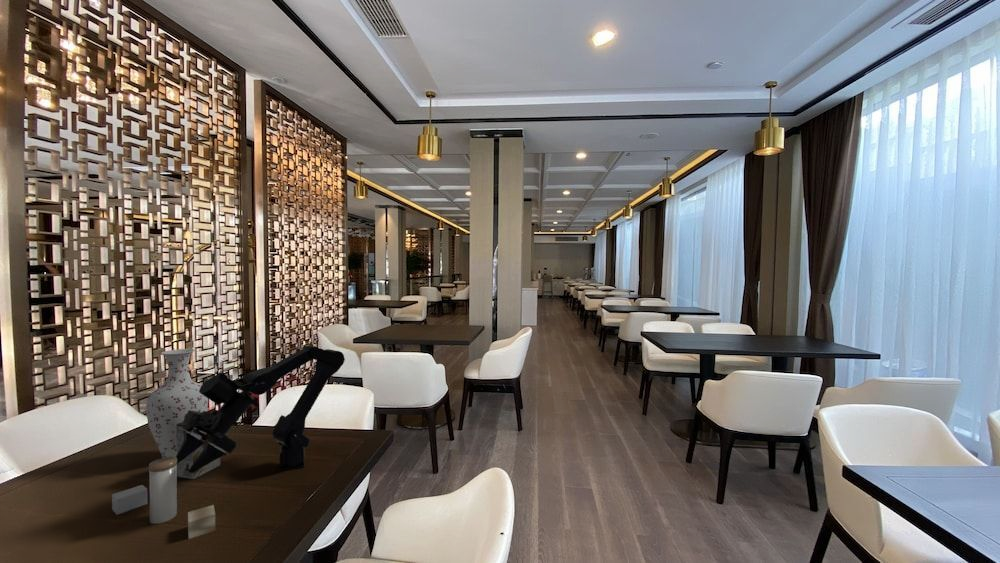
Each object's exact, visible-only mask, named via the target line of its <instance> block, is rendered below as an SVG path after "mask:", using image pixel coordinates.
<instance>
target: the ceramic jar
mask: <svg viewBox="0 0 1000 563" xmlns="http://www.w3.org/2000/svg"><path fill="white" fill-rule="evenodd" d="M148 471H149V473H148V474H149V524H150V523H151V524H153V525H155V524H156V525H158V524H162V523H167V522H168V521H170V520H172V519H174V518H175V517H177V515H178V494H177V491H178V490H177V489H178V483H177V481H178V476H177V458H176V457H165V458H162V457H161V458H158V459H155V460H153V461H151V462H150V463H149V464H148Z"/></svg>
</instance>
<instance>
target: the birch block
mask: <svg viewBox="0 0 1000 563" xmlns="http://www.w3.org/2000/svg"><path fill="white" fill-rule="evenodd" d="M214 531H216V510H215V506H214V504H211V505H208V506H205V507H201V508H197V509H195V510H191V511H188V512H187V533H188V534H187V535H188V540H190V539H193V538H197V537H200V536H202V535H205V534H209V533H212V532H214Z"/></svg>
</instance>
